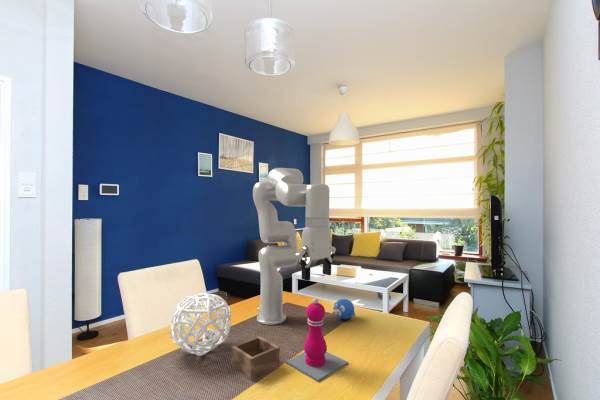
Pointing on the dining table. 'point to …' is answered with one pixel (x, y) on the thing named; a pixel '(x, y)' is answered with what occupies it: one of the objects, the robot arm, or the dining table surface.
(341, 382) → the dining table surface
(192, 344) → the decorative ball
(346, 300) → the blue mole toy
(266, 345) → the holder
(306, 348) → the pink bowling pin
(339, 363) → the mat
